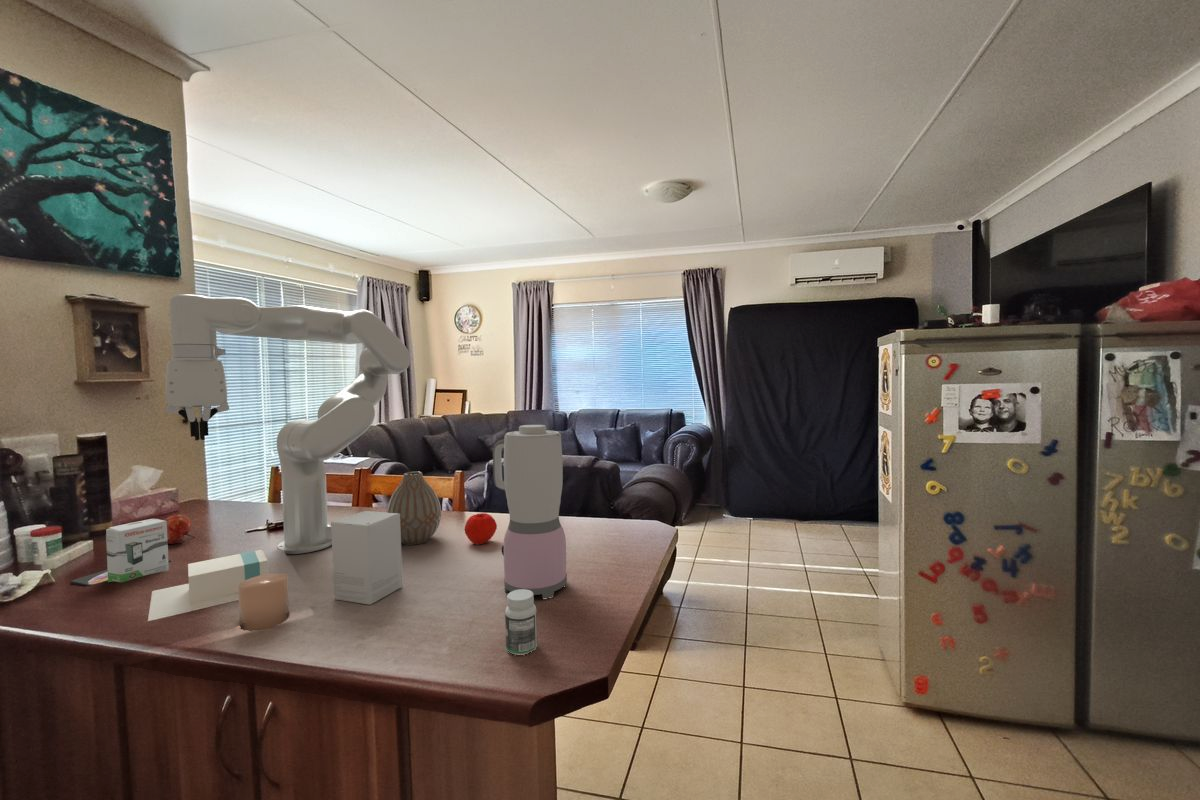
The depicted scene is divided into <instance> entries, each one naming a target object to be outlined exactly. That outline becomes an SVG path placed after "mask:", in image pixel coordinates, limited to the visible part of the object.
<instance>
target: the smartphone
mask: <svg viewBox="0 0 1200 800" xmlns="http://www.w3.org/2000/svg"><path fill="white" fill-rule="evenodd" d="M169 562H170V563H171V562H172V561H171V560H170V559H168V563H169ZM70 581H71V582H70V583H71V585H76V586H82V587H91V586H96V585H101V584H105V583H106V584H107V583H109V582H108V569H105V570H101V571H99V572H95V573H92V574H89V575H85V576H81V577H78V578H75V579H72V580H70Z"/></svg>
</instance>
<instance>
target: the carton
mask: <svg viewBox="0 0 1200 800" xmlns="http://www.w3.org/2000/svg"><path fill="white" fill-rule="evenodd" d="M187 571H188V572H187V573H188V575H187V576H188V583H189V595H190V604H192V603H196V602H200V601H204V600H209V599H213V598H217V597H221V596H226V595H230V594H234V593H238V592H239V587H238V586H239V584H240V583H241V582H243V581H245V580H247V579H250V578H252V577H256V576H260V575H265V574H269V567H268V558H267V557H266V555H265V553H264V551H263V549H257V550H250V551H246V552H242V553H237V554H233V555H227V556H221V557H216V558H212V559H206V560H202V561H196V562H192V563H188V564H187Z"/></svg>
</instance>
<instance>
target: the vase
mask: <svg viewBox="0 0 1200 800" xmlns="http://www.w3.org/2000/svg"><path fill="white" fill-rule="evenodd" d="M441 509H442V508H441V503H440V499H439V497H438V495H437V492H435V489H433V487H432V486H431V485H430V484H429V483H428V482H427V481H426V479H425V477H424V476H423V472H422V471H409V472H405V473H403V477H402V479H401V482H400V483H399V485H398V486H397V487H396V488H395V490H394V491H393V493H392V494H391V496H390V498H389V500H388V503H387V507H386V513H398V514H400V529H401V545H407V546H412V545H420V544H423V543H426V542H428V541H429V540H430V539H431V538H432V537H433V536H434V534H435V533H436V532H437V530H438V528H439V525H440V523H441V518H442V510H441Z"/></svg>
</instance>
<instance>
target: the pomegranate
mask: <svg viewBox="0 0 1200 800" xmlns="http://www.w3.org/2000/svg"><path fill="white" fill-rule="evenodd" d="M163 520H164V521H167V540H168V544H170V545H171V544H172V545H174V544H180V543H181V542H183V541H184V538H185V536H188V537H190V538H194V539H195V538H196V537H195V536H194V535H191V534H189V533H190V531H191V528H192V522H191V519H190V518H189V517H188V516H187V515H185V514H173V515H170V516H168V517H167V518H164V519H163Z"/></svg>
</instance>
